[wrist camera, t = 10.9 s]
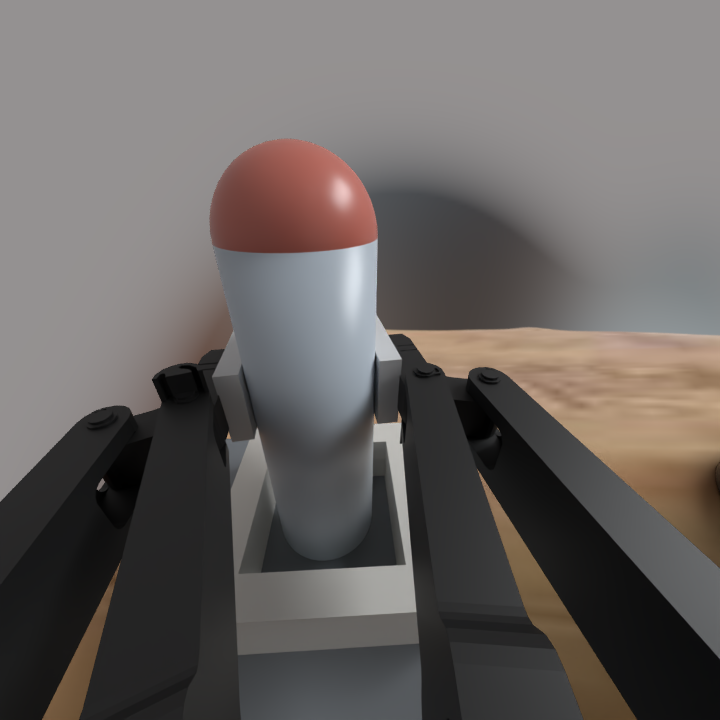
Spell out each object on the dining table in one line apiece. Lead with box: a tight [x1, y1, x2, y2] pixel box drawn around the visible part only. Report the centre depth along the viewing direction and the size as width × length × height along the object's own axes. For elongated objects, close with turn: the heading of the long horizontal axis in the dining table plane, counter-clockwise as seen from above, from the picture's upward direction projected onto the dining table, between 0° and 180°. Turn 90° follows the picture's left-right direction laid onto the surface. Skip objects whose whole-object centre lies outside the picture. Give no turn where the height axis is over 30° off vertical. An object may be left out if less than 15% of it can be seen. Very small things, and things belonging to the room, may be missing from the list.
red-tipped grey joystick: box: [210, 139, 378, 561], centre depth 11 cm, size 4×4×15 cm
